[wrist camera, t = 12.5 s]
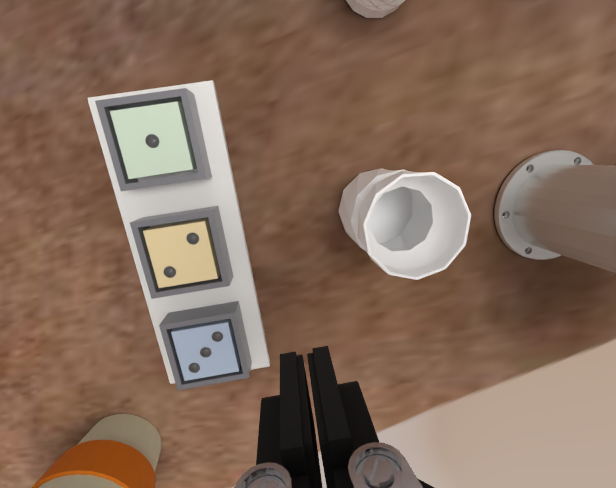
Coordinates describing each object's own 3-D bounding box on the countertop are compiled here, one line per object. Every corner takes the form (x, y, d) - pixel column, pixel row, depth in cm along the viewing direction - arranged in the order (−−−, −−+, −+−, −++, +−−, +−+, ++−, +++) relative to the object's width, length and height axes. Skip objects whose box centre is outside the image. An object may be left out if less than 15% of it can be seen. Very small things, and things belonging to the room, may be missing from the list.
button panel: (214, 82, 34) (206, 72, 30) (270, 361, 42) (269, 382, 38) (92, 99, 33) (68, 91, 29) (172, 378, 41) (161, 401, 37)
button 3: (231, 312, 38) (227, 322, 35) (241, 358, 39) (238, 371, 37) (178, 321, 38) (170, 332, 35) (190, 367, 39) (184, 381, 37)
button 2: (210, 217, 35) (204, 221, 33) (221, 270, 37) (217, 278, 34) (152, 226, 35) (142, 231, 32) (166, 279, 36) (158, 288, 34)
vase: (413, 241, 39) (469, 275, 28) (339, 247, 39) (364, 285, 27) (413, 164, 37) (474, 166, 26) (335, 170, 37) (361, 175, 25)
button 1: (185, 105, 32) (177, 101, 30) (199, 168, 34) (192, 169, 31) (122, 114, 32) (109, 111, 30) (139, 177, 34) (128, 179, 31)
